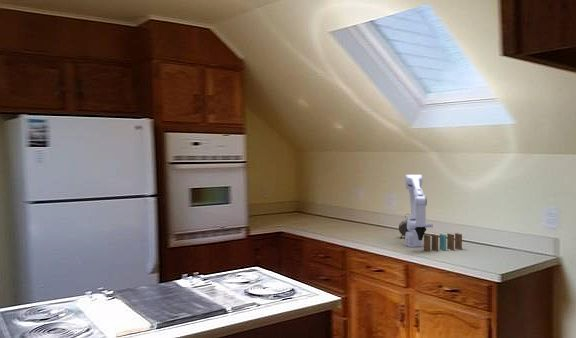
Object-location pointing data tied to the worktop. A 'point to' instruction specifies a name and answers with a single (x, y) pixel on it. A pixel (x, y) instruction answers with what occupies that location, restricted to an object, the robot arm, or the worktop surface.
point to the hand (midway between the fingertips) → (420, 240)
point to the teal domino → (443, 242)
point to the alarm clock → (403, 227)
